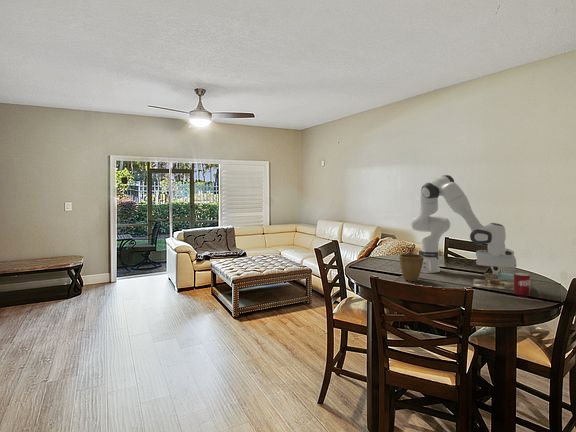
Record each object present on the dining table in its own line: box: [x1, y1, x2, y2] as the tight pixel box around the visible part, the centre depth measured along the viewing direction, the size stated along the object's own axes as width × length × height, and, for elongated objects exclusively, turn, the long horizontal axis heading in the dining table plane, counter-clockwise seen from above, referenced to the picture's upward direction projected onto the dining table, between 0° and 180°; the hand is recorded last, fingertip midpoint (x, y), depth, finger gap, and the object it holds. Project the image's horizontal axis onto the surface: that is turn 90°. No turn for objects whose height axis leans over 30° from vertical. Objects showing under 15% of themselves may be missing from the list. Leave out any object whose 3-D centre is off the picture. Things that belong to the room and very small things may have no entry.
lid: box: [497, 270, 514, 281], centre depth 197 cm, size 8×14×3 cm, turn 150°
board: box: [472, 272, 514, 291], centre depth 199 cm, size 24×17×6 cm
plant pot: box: [398, 253, 424, 282], centre depth 216 cm, size 15×15×16 cm
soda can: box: [513, 272, 531, 299], centre depth 181 cm, size 7×7×12 cm
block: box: [489, 275, 500, 285], centre depth 200 cm, size 4×4×4 cm
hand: (495, 273), depth 199 cm, fingers closed
